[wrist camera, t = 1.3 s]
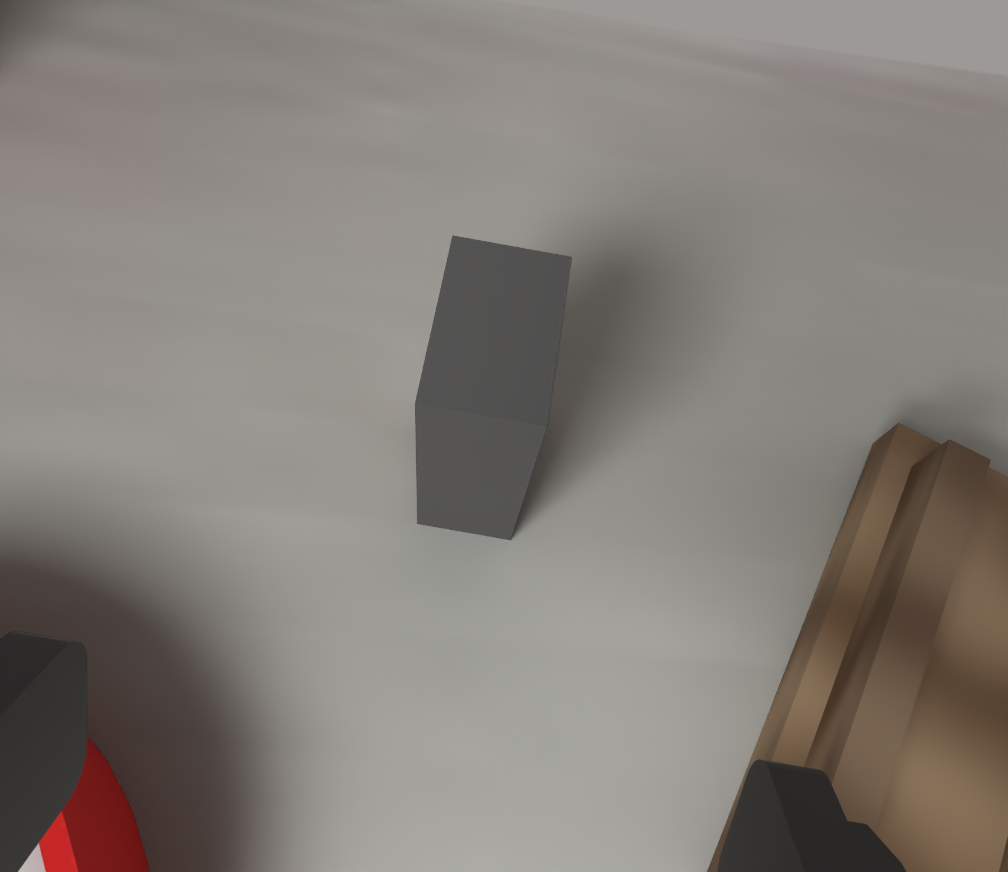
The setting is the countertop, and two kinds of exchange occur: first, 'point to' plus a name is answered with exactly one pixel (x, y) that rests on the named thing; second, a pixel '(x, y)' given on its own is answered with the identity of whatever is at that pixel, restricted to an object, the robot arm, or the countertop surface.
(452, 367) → the dark grey cuboid
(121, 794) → the toy clock
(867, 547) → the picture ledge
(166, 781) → the countertop surface
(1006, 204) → the countertop surface
